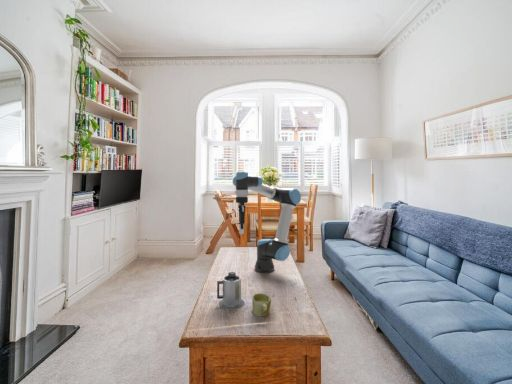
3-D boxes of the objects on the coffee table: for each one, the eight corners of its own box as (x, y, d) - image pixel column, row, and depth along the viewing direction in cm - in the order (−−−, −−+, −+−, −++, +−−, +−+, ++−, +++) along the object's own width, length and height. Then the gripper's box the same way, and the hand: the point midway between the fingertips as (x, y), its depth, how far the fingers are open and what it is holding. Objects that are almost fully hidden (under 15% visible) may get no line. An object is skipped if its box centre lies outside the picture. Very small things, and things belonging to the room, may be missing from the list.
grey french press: (239, 298, 143) (239, 274, 142) (241, 306, 133) (242, 280, 133) (216, 300, 140) (216, 275, 140) (217, 308, 131) (217, 282, 130)
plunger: (237, 294, 141) (237, 270, 140) (238, 299, 134) (238, 275, 134) (225, 295, 140) (225, 271, 139) (226, 301, 133) (226, 276, 133)
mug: (248, 303, 134) (254, 288, 132) (266, 309, 135) (272, 293, 133) (247, 320, 122) (254, 303, 120) (267, 326, 123) (274, 309, 121)
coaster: (242, 297, 145) (242, 296, 145) (246, 309, 132) (246, 308, 132) (218, 299, 143) (218, 298, 143) (219, 311, 129) (219, 310, 129)
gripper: (234, 195, 163) (234, 231, 164) (237, 197, 150) (236, 236, 151) (246, 195, 164) (245, 231, 165) (249, 197, 151) (249, 235, 152)
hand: (241, 233), depth 158 cm, fingers closed
